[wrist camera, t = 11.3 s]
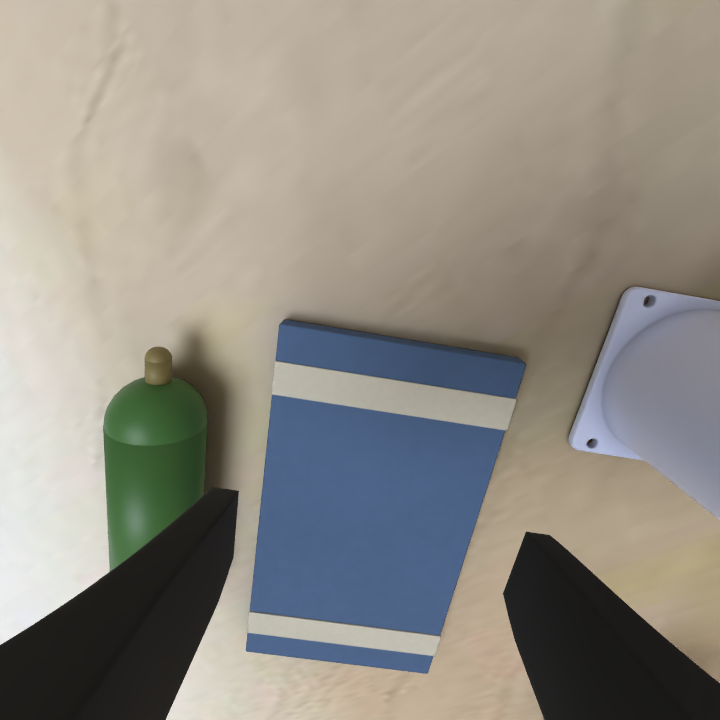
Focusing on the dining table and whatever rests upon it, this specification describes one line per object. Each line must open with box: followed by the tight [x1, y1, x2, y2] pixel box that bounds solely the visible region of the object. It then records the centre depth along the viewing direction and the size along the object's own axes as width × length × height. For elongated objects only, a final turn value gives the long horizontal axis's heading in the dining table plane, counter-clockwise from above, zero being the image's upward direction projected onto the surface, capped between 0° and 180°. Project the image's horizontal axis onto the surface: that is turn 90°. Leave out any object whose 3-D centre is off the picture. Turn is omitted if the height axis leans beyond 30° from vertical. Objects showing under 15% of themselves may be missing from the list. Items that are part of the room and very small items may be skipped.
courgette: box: [103, 347, 208, 571], centre depth 18 cm, size 15×4×4 cm, turn 171°
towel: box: [246, 319, 526, 674], centre depth 20 cm, size 11×20×1 cm, turn 171°
